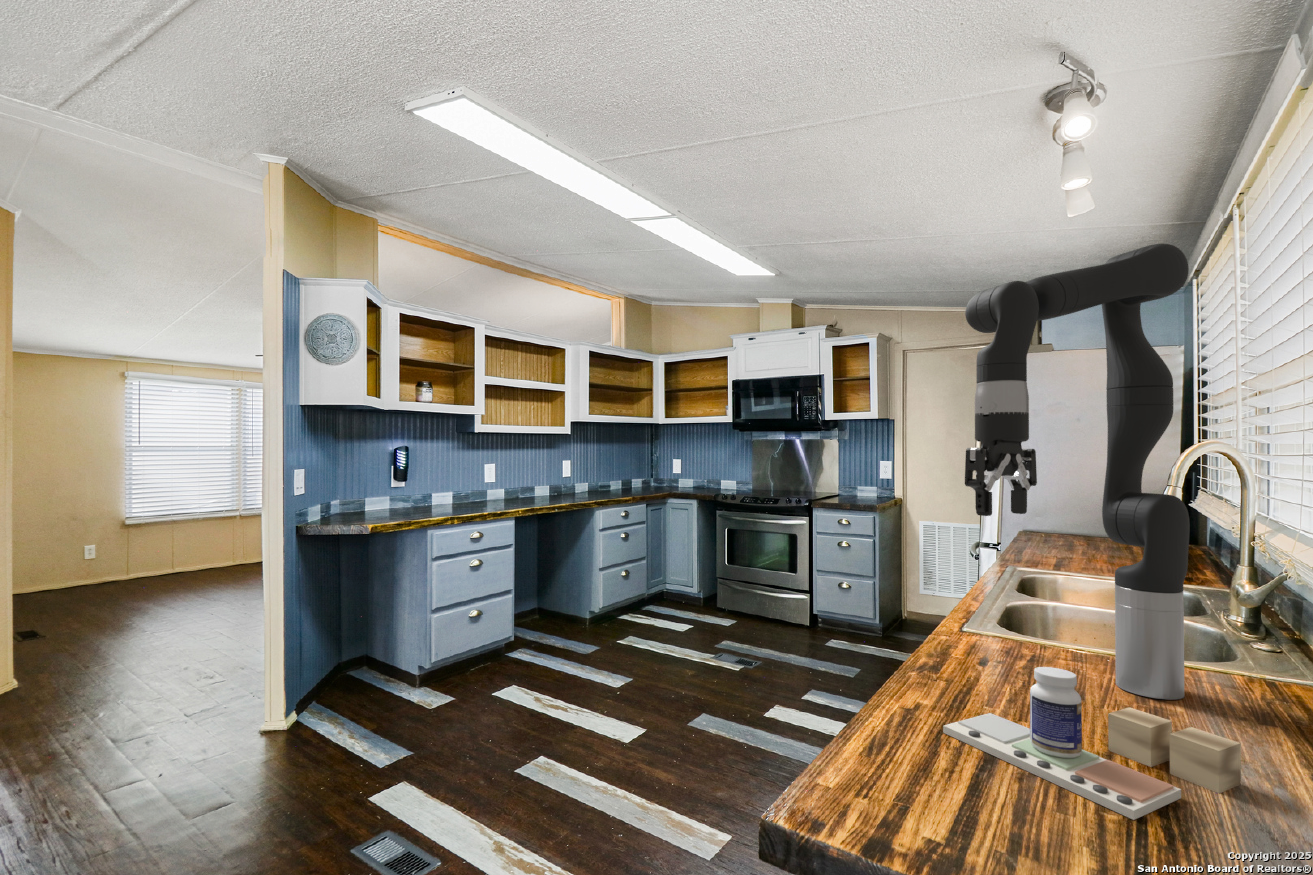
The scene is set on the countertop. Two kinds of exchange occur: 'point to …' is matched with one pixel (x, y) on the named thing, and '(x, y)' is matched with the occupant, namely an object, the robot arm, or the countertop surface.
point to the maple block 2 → (1205, 759)
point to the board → (1067, 767)
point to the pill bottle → (1055, 713)
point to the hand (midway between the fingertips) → (1001, 514)
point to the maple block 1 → (1139, 736)
